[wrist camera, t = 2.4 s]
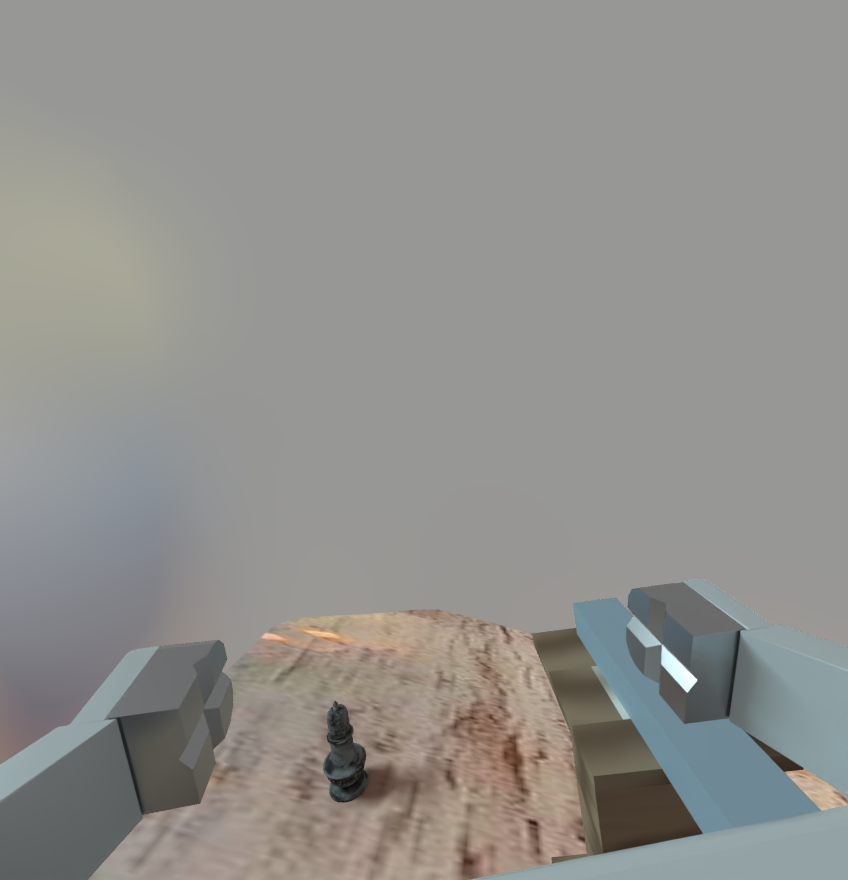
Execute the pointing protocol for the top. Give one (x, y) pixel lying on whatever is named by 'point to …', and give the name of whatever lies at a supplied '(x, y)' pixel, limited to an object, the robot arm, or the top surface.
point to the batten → (690, 737)
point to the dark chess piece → (344, 757)
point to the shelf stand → (614, 757)
